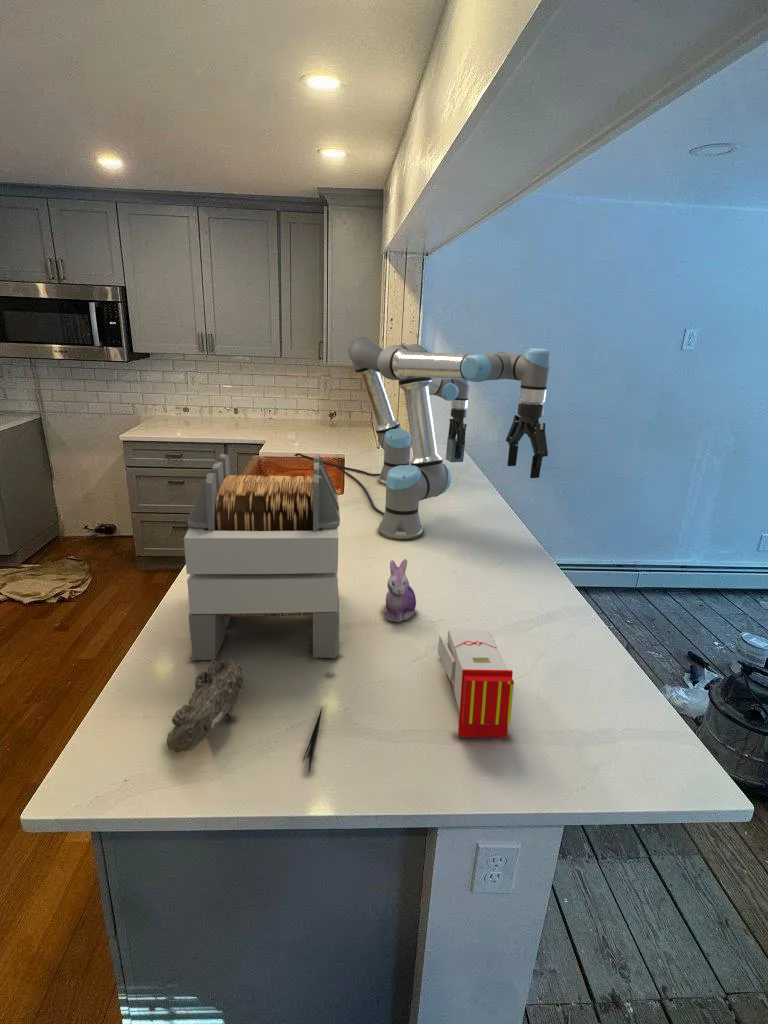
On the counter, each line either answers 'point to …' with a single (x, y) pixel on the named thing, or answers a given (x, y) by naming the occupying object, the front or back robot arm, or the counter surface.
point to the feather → (313, 740)
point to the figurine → (399, 594)
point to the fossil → (206, 705)
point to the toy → (478, 682)
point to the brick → (453, 450)
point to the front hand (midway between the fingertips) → (522, 471)
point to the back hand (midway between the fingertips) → (454, 456)
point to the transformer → (263, 554)
